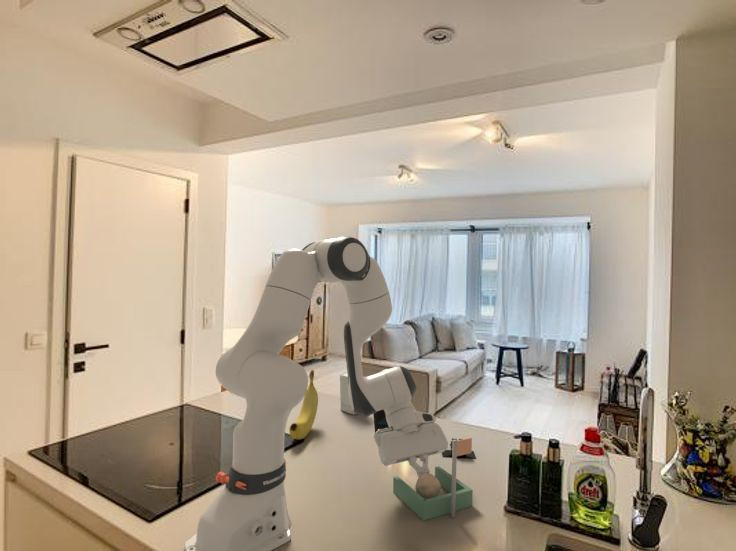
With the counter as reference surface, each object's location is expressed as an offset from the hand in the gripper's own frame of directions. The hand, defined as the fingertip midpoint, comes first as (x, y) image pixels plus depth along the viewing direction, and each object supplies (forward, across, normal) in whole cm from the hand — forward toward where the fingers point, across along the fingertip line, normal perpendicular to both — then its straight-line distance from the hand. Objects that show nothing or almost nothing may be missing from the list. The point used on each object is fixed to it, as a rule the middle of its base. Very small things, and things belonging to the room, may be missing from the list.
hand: (424, 474), depth 112 cm
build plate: (-6, +23, +14) cm, 27 cm away
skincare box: (-42, +10, +49) cm, 65 cm away
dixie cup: (-23, +9, +30) cm, 39 cm away
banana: (-32, -16, +39) cm, 52 cm away
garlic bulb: (+6, -1, +1) cm, 6 cm away
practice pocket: (+7, 0, 0) cm, 7 cm away
